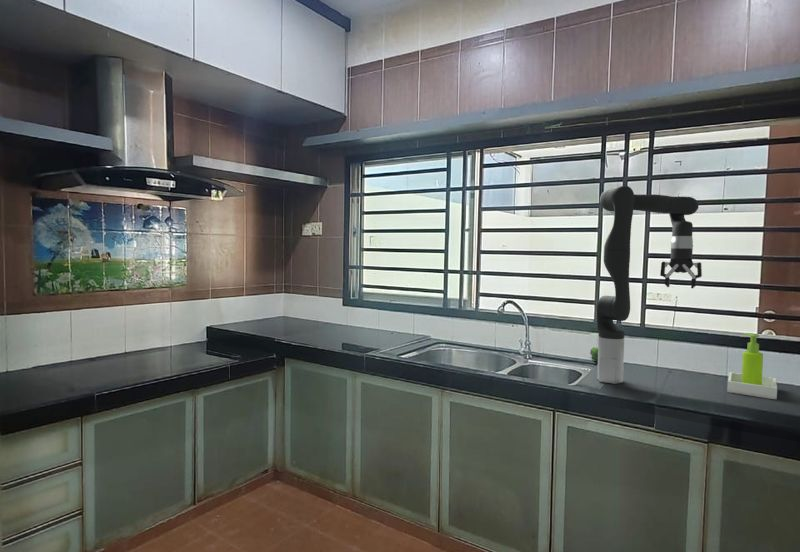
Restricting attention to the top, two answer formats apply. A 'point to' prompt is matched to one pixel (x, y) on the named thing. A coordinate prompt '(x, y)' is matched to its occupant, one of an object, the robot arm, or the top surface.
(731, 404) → the top surface
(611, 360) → the robot arm
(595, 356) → the vegetable
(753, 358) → the soap dispenser
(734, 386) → the tray
